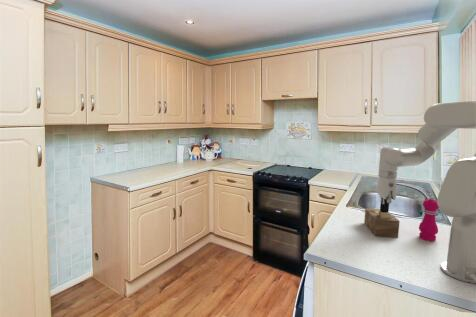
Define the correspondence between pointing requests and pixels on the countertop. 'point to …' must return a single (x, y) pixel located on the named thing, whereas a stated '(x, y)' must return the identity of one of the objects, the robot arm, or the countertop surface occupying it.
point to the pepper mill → (429, 220)
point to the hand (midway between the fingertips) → (384, 211)
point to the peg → (384, 215)
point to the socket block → (381, 224)
